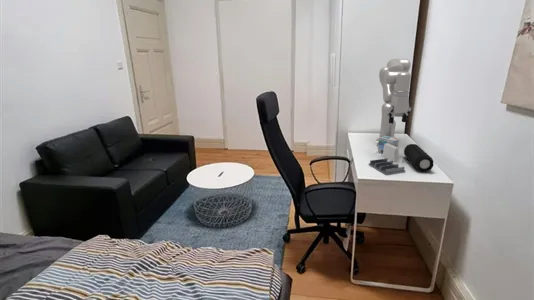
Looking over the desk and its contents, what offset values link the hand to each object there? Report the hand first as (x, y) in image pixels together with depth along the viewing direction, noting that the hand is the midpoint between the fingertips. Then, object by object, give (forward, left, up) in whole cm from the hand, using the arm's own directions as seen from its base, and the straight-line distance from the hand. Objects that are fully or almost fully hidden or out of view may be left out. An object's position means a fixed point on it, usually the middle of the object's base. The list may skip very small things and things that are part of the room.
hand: (397, 122), depth 178 cm
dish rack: (+11, -13, -24) cm, 30 cm away
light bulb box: (-11, +5, -24) cm, 27 cm away
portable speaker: (+12, +8, -24) cm, 28 cm away
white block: (-1, -1, -24) cm, 24 cm away
